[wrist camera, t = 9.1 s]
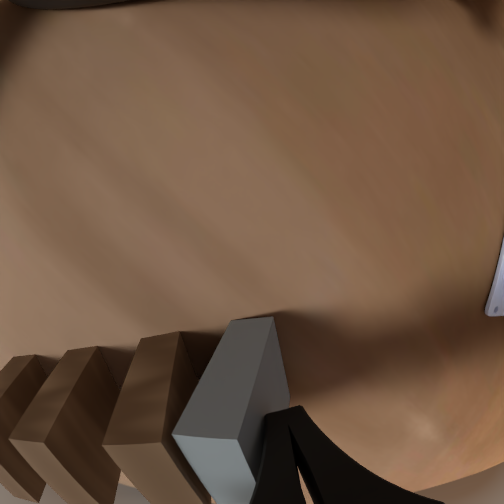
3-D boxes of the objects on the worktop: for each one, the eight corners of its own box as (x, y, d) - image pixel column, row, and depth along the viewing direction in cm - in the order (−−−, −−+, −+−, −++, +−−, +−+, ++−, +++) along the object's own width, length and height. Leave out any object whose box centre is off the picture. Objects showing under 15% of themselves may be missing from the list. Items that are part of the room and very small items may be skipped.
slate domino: (273, 316, 14) (237, 439, 7) (290, 396, 15) (269, 511, 8) (230, 320, 14) (171, 434, 8) (253, 398, 15) (219, 507, 9)
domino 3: (179, 331, 14) (160, 442, 7) (208, 407, 15) (212, 514, 8) (140, 338, 14) (101, 445, 7) (174, 412, 15) (164, 516, 8)
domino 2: (97, 345, 14) (43, 442, 7) (134, 417, 15) (111, 515, 8) (67, 350, 14) (8, 438, 7) (105, 419, 15) (75, 510, 8)
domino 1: (35, 354, 13) (-25, 432, 7) (73, 419, 15) (38, 503, 8) (13, 357, 13) (-46, 428, 6) (51, 420, 15) (14, 496, 8)
